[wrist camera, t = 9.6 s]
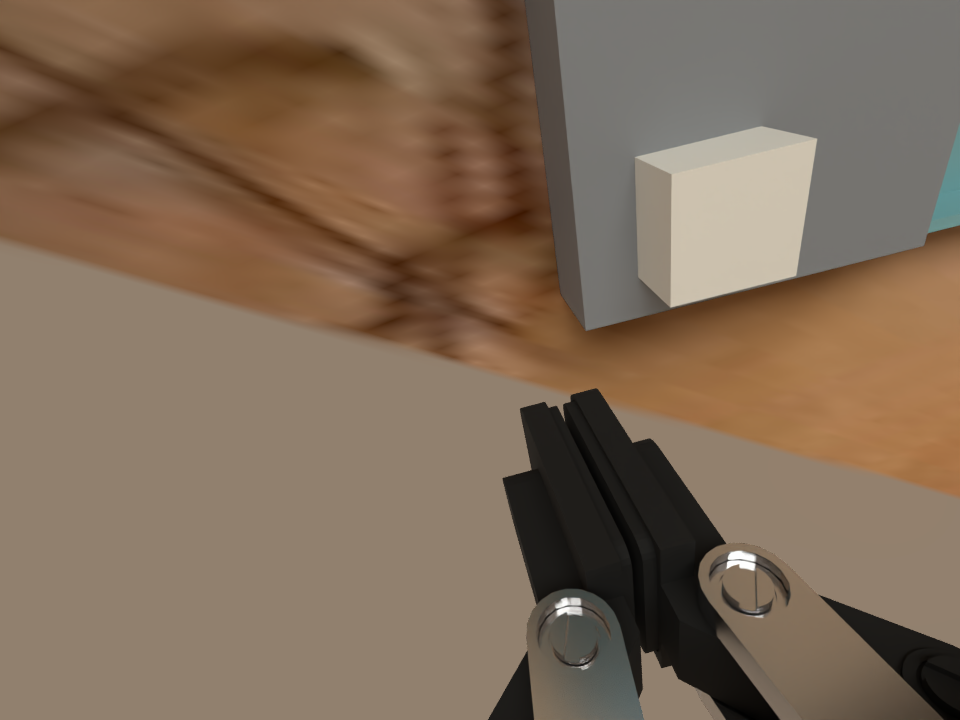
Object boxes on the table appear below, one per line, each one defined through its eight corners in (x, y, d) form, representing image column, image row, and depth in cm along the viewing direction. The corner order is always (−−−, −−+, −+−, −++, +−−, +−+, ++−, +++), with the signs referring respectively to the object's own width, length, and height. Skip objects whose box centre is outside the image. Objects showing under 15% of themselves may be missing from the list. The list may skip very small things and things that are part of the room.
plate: (966, -303, 17) (1108, -388, 14) (856, 220, 27) (923, 245, 23) (500, -197, 17) (528, -258, 13) (560, 294, 26) (585, 331, 23)
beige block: (761, 125, 19) (817, 138, 17) (749, 249, 22) (796, 276, 20) (634, 157, 19) (671, 174, 17) (638, 277, 22) (670, 307, 20)
